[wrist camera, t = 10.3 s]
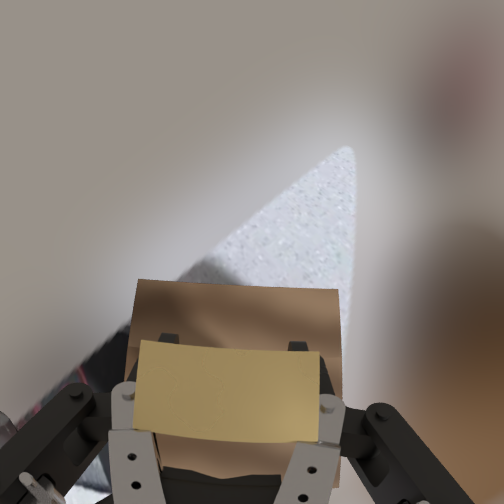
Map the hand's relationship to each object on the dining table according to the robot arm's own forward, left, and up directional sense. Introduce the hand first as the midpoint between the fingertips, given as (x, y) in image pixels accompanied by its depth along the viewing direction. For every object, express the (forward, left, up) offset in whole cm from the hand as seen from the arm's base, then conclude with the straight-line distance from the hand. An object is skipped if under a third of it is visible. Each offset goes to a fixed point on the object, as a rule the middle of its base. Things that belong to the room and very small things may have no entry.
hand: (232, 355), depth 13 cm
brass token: (-1, -2, -5) cm, 5 cm away
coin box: (-1, -1, -22) cm, 22 cm away
